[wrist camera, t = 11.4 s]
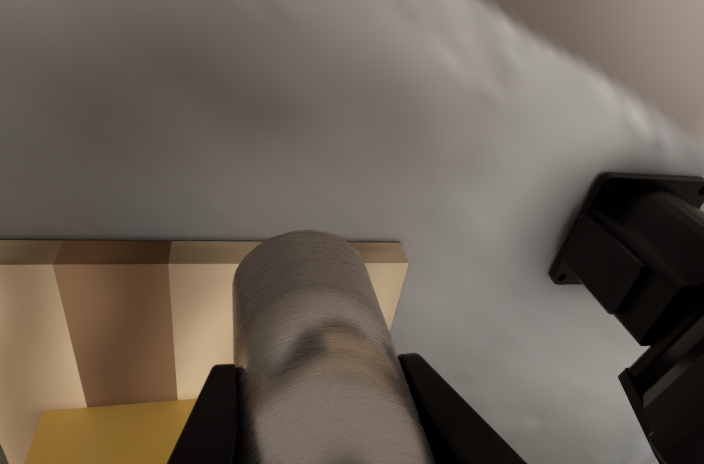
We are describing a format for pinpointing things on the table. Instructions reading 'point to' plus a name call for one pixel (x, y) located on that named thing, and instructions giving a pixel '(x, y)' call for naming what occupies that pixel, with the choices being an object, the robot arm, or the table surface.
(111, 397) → the board
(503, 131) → the table surface
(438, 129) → the table surface
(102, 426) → the mustard yellow box
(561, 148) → the table surface
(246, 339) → the bronze metal canister
